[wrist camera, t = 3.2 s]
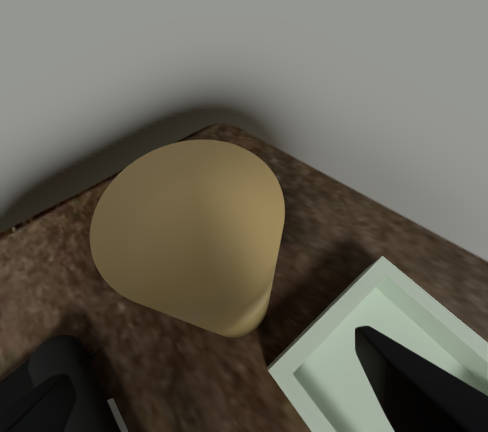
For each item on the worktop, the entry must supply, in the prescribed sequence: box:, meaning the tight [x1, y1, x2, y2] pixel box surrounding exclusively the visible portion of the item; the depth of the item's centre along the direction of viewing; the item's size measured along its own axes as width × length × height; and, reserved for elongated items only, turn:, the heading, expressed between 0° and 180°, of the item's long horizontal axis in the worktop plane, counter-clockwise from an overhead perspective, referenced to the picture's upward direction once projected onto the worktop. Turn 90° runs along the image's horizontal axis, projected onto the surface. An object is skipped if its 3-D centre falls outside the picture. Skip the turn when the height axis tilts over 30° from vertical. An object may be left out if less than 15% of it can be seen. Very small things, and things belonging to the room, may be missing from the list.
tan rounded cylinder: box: [90, 140, 285, 338], centre depth 13 cm, size 5×5×14 cm
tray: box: [267, 256, 488, 432], centre depth 14 cm, size 11×11×3 cm
